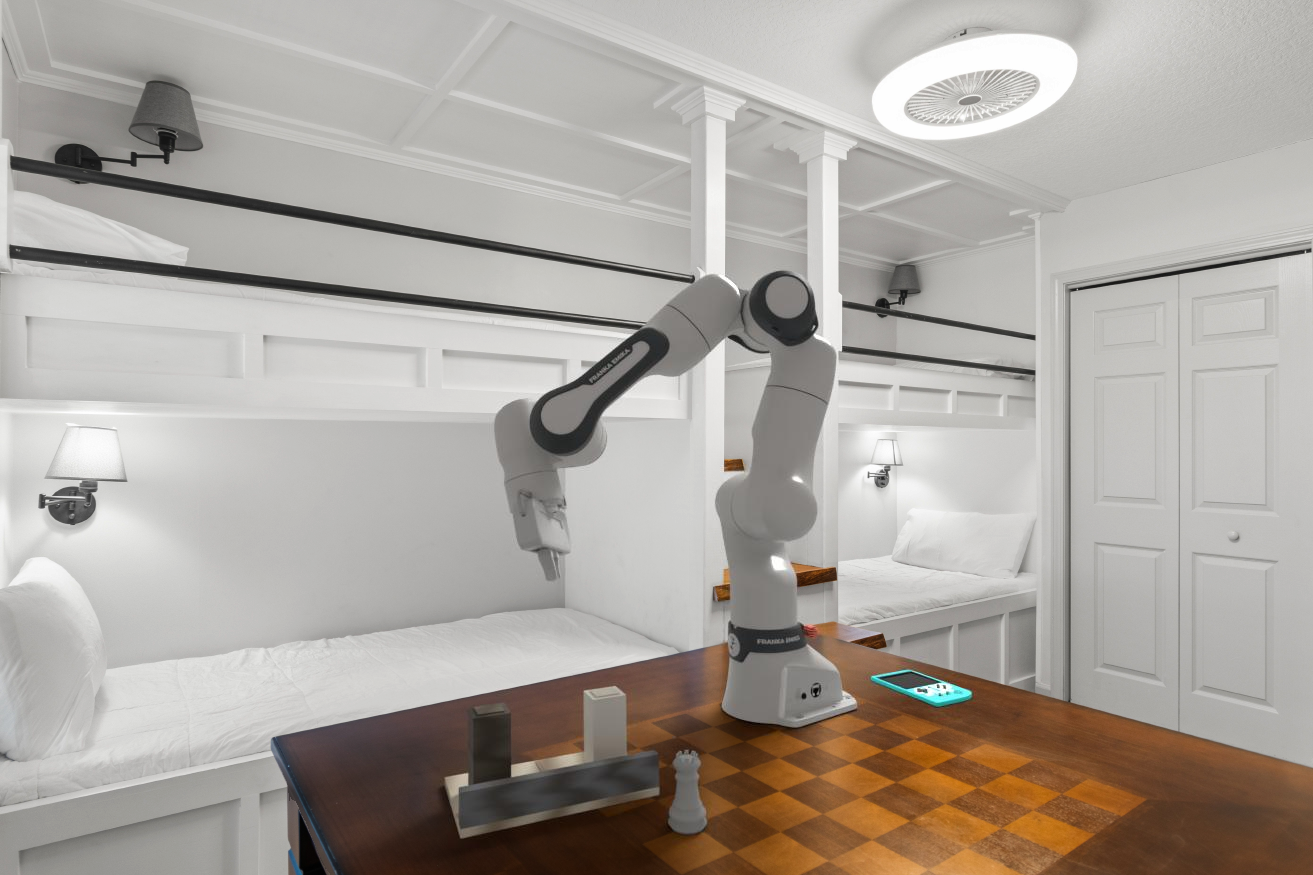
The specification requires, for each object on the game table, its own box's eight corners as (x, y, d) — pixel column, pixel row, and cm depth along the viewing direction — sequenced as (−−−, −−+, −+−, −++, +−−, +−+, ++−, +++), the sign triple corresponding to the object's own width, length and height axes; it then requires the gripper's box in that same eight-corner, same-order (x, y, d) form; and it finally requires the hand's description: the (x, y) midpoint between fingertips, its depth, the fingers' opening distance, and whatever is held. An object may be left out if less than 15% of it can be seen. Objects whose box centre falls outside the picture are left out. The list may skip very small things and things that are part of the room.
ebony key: (504, 779, 89) (504, 700, 90) (511, 793, 86) (510, 710, 86) (468, 786, 88) (467, 706, 88) (473, 800, 84) (473, 716, 84)
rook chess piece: (704, 837, 78) (703, 764, 78) (664, 833, 79) (663, 761, 79) (709, 817, 82) (708, 747, 82) (671, 813, 83) (671, 745, 83)
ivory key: (616, 758, 95) (615, 684, 96) (626, 770, 92) (626, 693, 92) (584, 764, 94) (583, 689, 94) (593, 776, 90) (593, 698, 90)
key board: (619, 751, 101) (619, 716, 101) (659, 794, 88) (658, 753, 88) (444, 784, 91) (444, 745, 91) (460, 838, 78) (460, 792, 78)
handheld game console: (936, 709, 117) (936, 701, 117) (868, 682, 132) (868, 675, 132) (979, 700, 121) (979, 692, 121) (909, 675, 136) (908, 667, 136)
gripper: (536, 480, 105) (557, 572, 101) (567, 500, 125) (586, 577, 121) (495, 492, 105) (515, 583, 102) (533, 510, 125) (551, 587, 121)
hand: (554, 580), depth 112 cm, fingers closed
